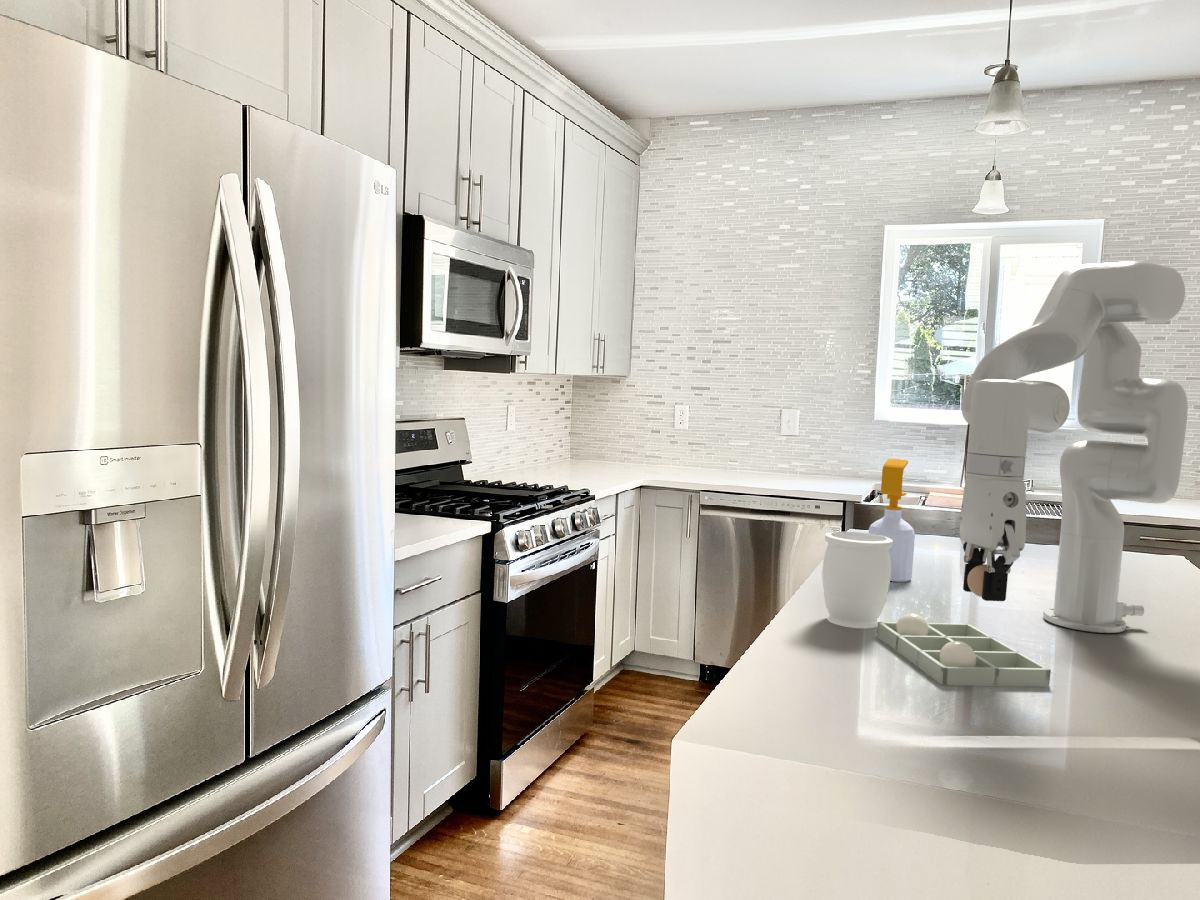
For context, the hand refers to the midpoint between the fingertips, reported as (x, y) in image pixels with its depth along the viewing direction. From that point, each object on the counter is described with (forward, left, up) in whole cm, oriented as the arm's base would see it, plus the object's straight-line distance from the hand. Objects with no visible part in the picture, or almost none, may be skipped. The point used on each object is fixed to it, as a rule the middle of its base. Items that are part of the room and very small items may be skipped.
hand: (983, 594), depth 126 cm
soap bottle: (-11, -57, -11) cm, 59 cm away
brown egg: (0, 0, 0) cm, 0 cm away
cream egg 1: (+7, -7, -9) cm, 14 cm away
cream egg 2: (+7, +7, -9) cm, 13 cm away
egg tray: (+3, 0, -10) cm, 11 cm away
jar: (+11, -19, -11) cm, 25 cm away
